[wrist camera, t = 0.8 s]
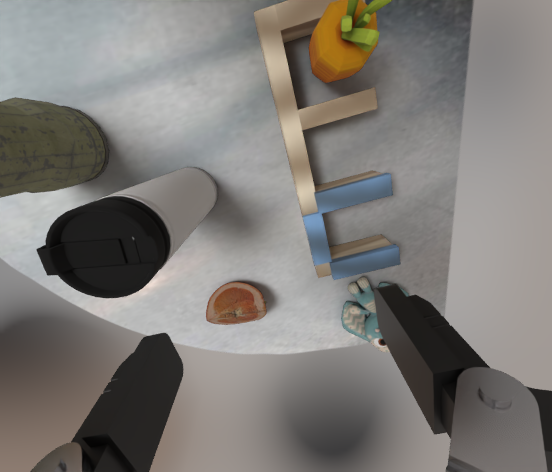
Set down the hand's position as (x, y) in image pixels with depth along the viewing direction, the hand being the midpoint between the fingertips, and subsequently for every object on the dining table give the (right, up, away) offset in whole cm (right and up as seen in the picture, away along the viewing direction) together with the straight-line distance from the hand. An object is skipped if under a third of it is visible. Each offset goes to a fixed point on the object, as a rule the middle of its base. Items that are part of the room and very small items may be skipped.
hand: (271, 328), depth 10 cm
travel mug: (-11, +9, +24) cm, 28 cm away
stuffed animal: (+15, -7, +31) cm, 35 cm away
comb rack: (+8, +14, +22) cm, 27 cm away
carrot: (+5, +22, +19) cm, 30 cm away
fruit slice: (-5, -6, +30) cm, 31 cm away
